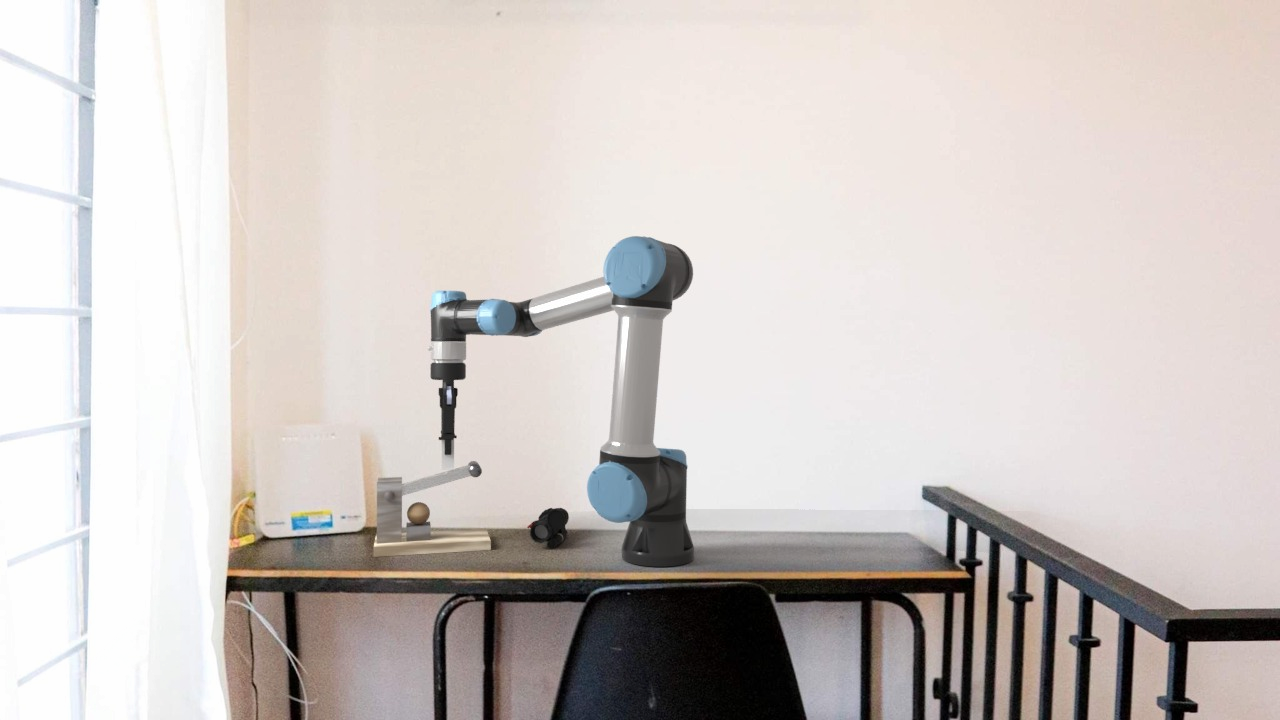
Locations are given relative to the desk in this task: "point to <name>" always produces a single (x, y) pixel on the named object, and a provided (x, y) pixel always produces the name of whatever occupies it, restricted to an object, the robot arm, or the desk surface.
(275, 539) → the desk surface
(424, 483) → the lever
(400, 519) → the press base
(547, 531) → the night vision scope
